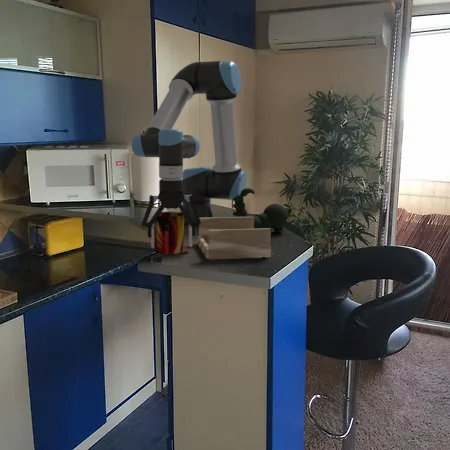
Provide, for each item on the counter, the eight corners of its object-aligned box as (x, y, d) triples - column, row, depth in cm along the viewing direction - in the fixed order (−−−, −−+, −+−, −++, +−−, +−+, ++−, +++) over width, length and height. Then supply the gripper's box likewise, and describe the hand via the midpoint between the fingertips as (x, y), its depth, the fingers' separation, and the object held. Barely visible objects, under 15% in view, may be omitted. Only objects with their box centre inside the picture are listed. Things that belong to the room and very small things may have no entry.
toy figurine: (243, 243, 191) (299, 231, 202) (240, 191, 187) (297, 182, 198) (231, 238, 199) (285, 227, 210) (227, 188, 195) (283, 180, 206)
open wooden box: (197, 243, 182) (197, 217, 180) (254, 241, 186) (255, 216, 184) (207, 259, 160) (207, 230, 159) (271, 257, 164) (272, 228, 163)
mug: (165, 258, 162) (165, 219, 159) (150, 248, 174) (149, 212, 171) (194, 255, 166) (194, 217, 164) (177, 245, 178) (177, 211, 176)
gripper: (133, 180, 160) (134, 250, 164) (210, 180, 164) (209, 248, 168) (132, 178, 167) (134, 245, 171) (206, 177, 171) (206, 242, 175)
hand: (171, 246), depth 170 cm, fingers open, 11 cm apart
